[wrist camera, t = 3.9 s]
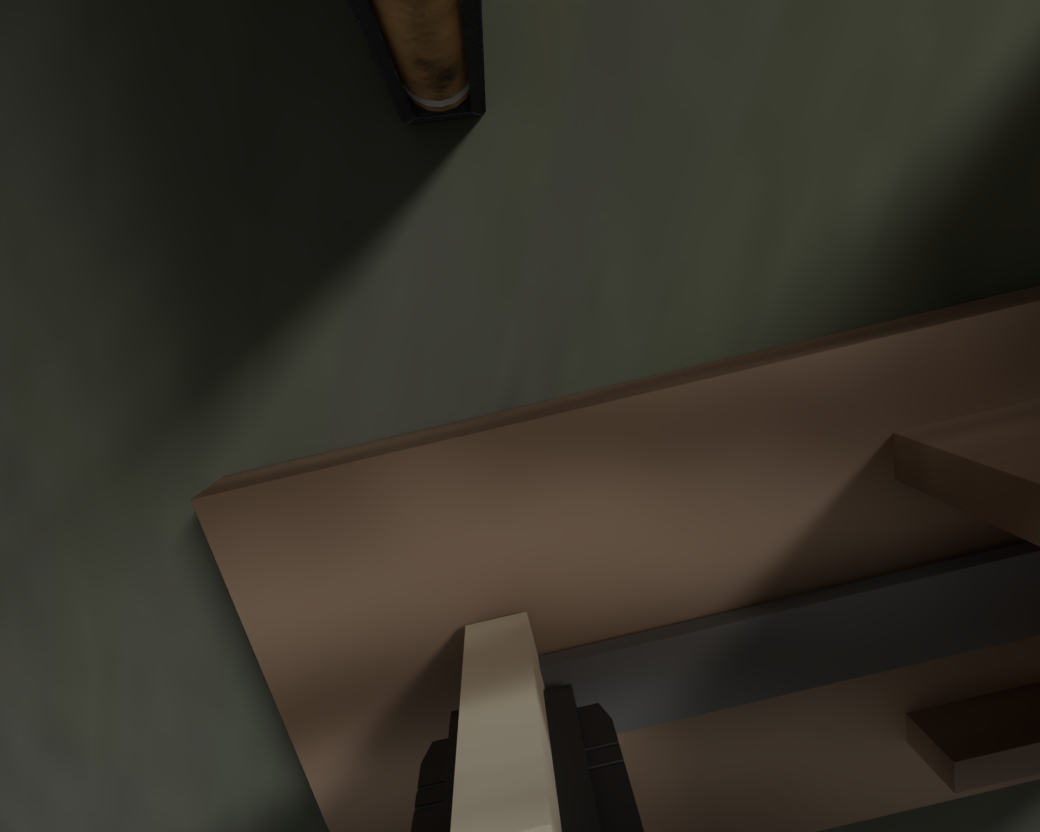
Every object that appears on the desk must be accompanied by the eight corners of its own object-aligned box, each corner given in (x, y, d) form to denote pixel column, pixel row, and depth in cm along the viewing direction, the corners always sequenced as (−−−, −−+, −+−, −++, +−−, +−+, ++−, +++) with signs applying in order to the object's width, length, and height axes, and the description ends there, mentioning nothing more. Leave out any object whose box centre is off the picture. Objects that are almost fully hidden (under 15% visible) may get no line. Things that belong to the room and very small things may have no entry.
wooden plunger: (459, 608, 12) (440, 822, 7) (1324, 405, 12) (1886, 480, 7) (516, 800, 13) (531, 1086, 9) (1287, 619, 14) (1734, 802, 9)
